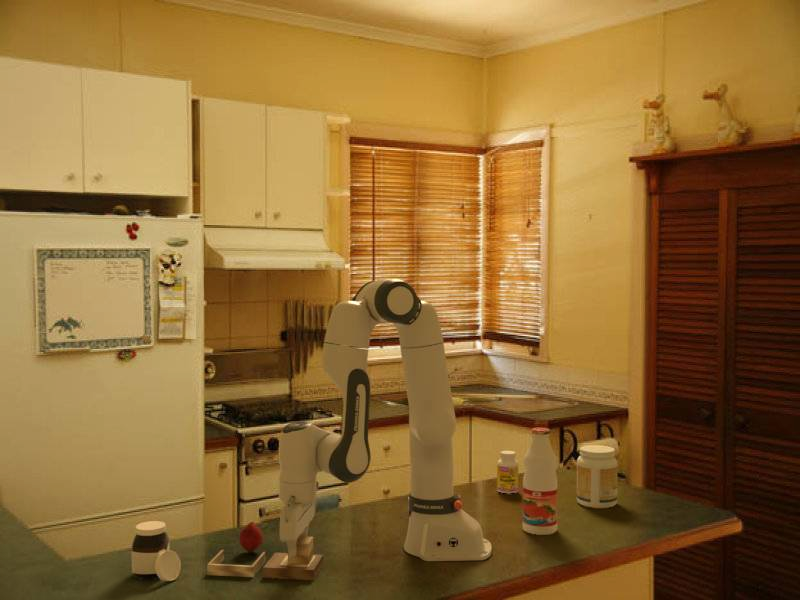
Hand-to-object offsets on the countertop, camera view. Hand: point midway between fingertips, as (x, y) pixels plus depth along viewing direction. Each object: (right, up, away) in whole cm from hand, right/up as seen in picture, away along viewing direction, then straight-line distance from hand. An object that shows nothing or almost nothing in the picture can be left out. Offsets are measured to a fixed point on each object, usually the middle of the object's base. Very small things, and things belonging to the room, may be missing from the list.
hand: (297, 548), depth 201 cm
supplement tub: (+84, -3, +57) cm, 101 cm away
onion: (-13, -5, +13) cm, 19 cm away
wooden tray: (-8, -6, +1) cm, 10 cm away
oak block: (+1, -3, 0) cm, 3 cm away
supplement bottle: (+59, -3, +69) cm, 91 cm away
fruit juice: (+63, -4, +31) cm, 70 cm away
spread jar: (-33, -6, -2) cm, 33 cm away
